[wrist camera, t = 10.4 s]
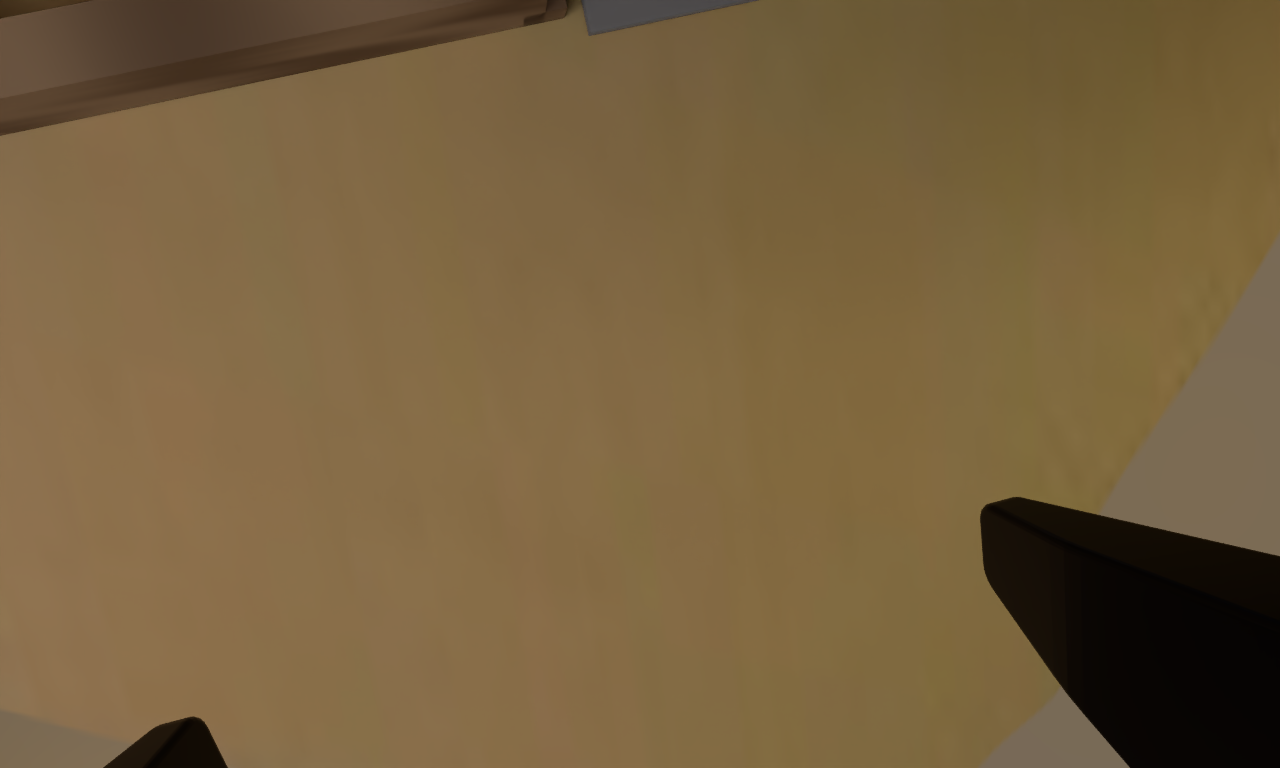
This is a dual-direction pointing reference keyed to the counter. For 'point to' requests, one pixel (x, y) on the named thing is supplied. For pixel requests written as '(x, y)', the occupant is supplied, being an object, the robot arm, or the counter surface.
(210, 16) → the rack
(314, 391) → the counter surface
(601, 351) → the counter surface
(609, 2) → the rubber mat
